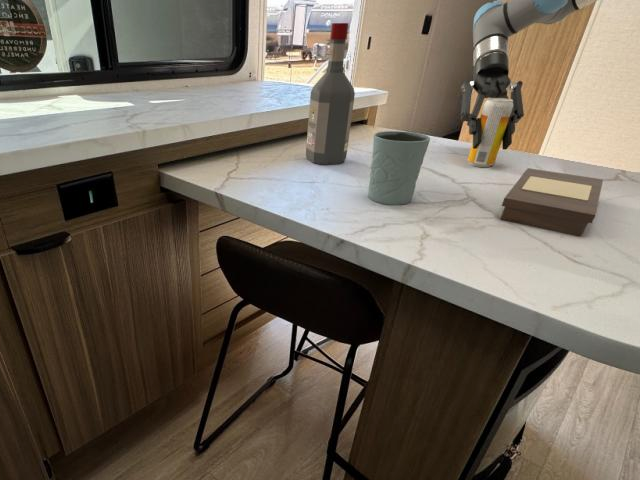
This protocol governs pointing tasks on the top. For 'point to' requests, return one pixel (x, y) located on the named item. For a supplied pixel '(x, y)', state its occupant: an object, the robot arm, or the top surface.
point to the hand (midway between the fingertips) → (492, 145)
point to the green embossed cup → (396, 166)
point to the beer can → (491, 131)
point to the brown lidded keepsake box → (553, 201)
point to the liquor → (331, 106)
